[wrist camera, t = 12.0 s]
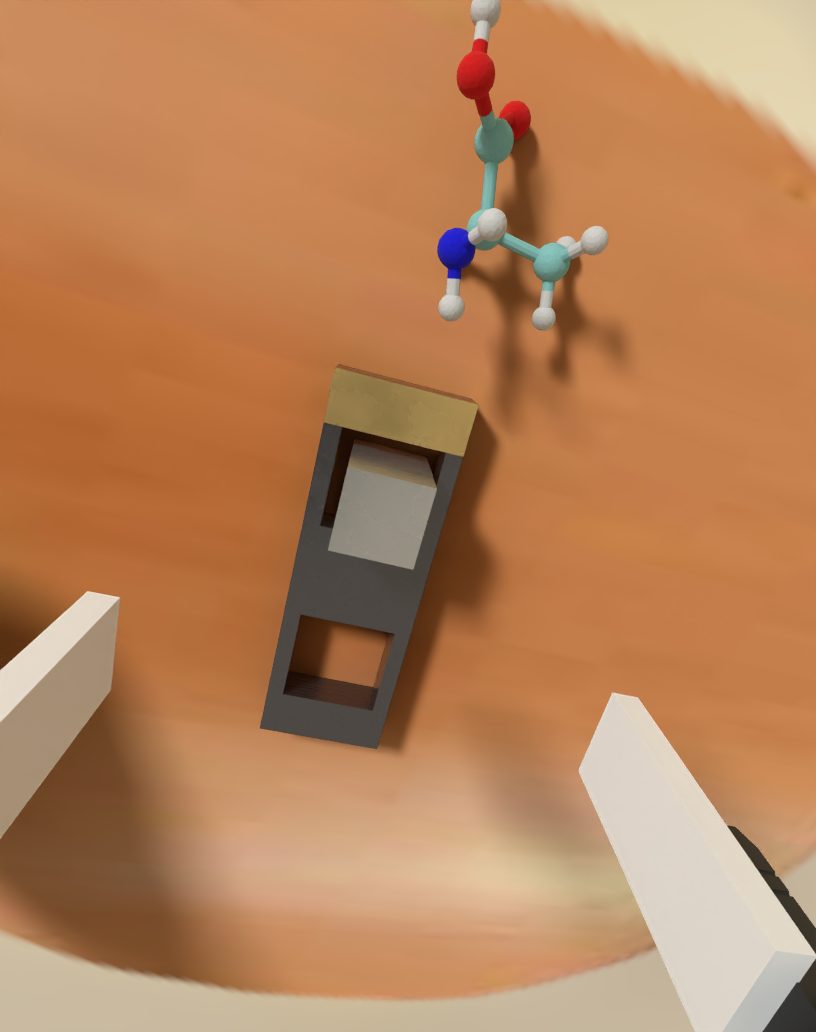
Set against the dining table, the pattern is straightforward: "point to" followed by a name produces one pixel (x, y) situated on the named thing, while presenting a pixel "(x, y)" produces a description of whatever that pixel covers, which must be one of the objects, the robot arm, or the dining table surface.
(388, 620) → the grey slotted frame
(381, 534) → the light grey rectangular block
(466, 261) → the molecular model
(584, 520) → the dining table surface
